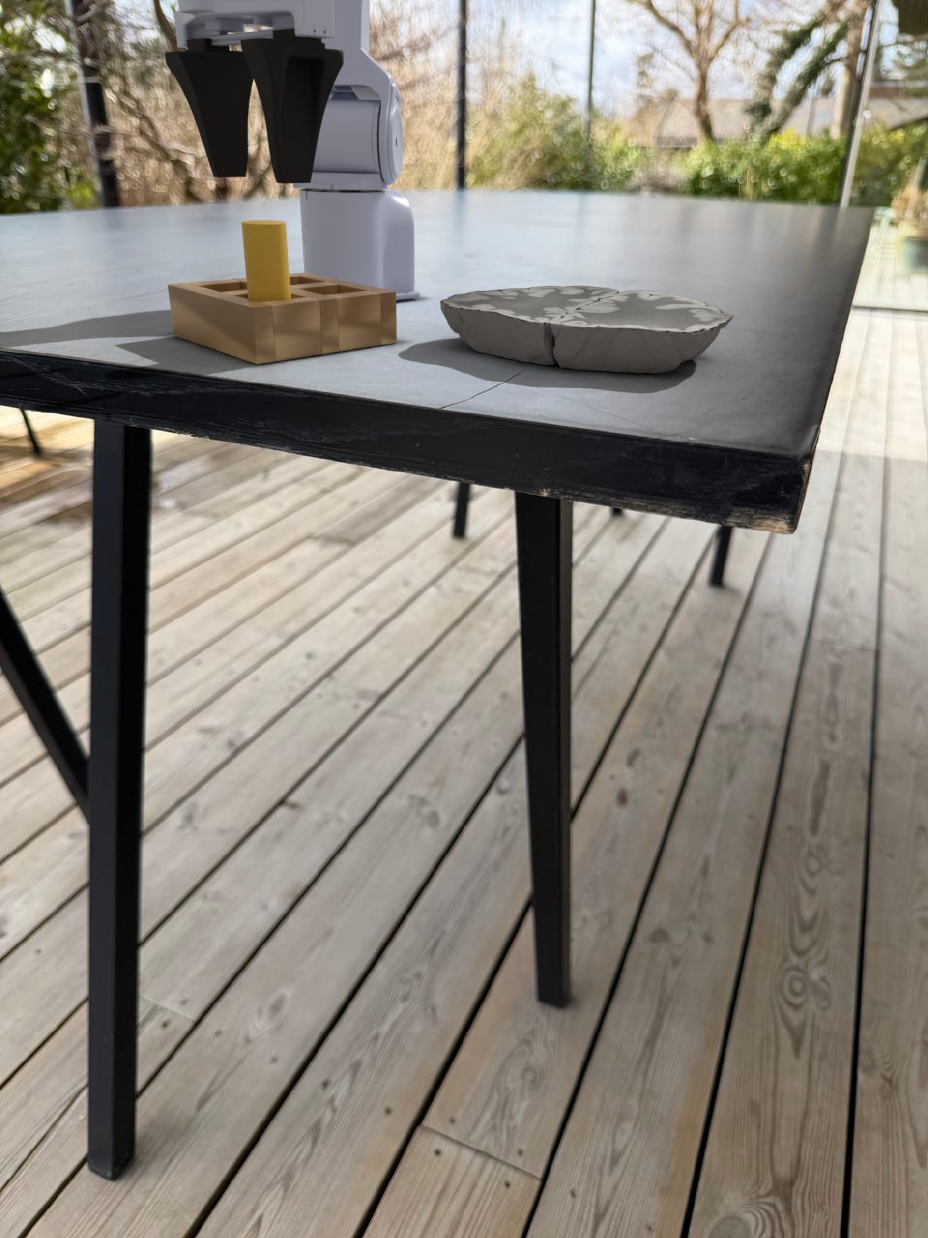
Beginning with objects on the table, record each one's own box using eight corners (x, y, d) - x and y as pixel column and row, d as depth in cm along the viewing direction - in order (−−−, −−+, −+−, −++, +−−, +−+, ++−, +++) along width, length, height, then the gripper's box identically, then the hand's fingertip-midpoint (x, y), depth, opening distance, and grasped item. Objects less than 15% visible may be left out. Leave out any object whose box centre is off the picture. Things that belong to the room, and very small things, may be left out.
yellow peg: (280, 343, 64) (271, 219, 60) (302, 350, 62) (294, 222, 58) (244, 348, 62) (233, 221, 58) (266, 355, 60) (256, 224, 57)
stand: (307, 319, 72) (304, 272, 71) (397, 342, 65) (396, 291, 63) (173, 335, 65) (167, 284, 64) (257, 364, 58) (252, 307, 56)
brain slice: (749, 342, 68) (756, 300, 66) (695, 390, 54) (702, 339, 53) (507, 316, 75) (509, 277, 74) (407, 353, 62) (406, 307, 60)
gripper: (115, -85, 53) (148, 175, 59) (243, -127, 44) (266, 186, 50) (224, -67, 57) (244, 174, 64) (362, -101, 48) (369, 184, 54)
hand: (260, 179), depth 57 cm, fingers open, 7 cm apart
